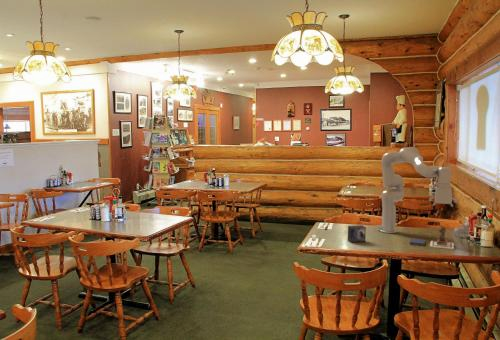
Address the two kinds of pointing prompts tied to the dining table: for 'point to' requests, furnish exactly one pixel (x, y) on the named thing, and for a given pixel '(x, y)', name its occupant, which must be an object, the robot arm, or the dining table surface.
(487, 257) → the dining table surface
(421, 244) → the ink pad
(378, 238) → the dining table surface
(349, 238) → the small box
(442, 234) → the stamp
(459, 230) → the pig figurine
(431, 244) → the marked board
